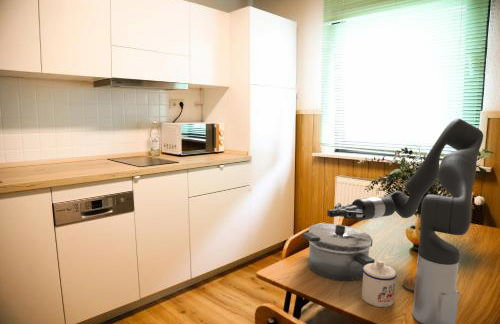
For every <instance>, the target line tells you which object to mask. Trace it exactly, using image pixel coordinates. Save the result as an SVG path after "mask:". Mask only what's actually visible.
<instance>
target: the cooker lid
mask: <svg viewBox="0 0 500 324" xmlns="http://www.w3.org/2000/svg"><path fill="white" fill-rule="evenodd" d="M302 237H303V238H304V239H306V240H307V241H308V242H309V241H311V242H314V241H319V242H322V243H325V244H328V245H331V246H336V247H342V248H351V249H359V248H366V247H368V246H370V245H371V241H372V240H373V238H372V237H371V235H370V234H368V233H367V232H365V231H363V230H361V229H358V228H354V227H351V226H346V225H342V224H335V223H317V224H312V225H311V226H309V228H308V232H302ZM372 242H373V241H372Z"/></svg>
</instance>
